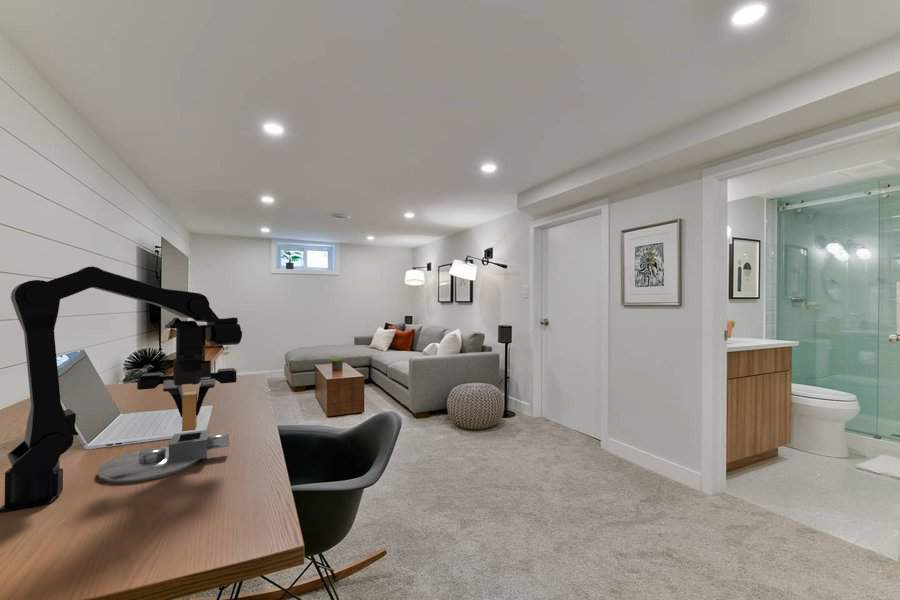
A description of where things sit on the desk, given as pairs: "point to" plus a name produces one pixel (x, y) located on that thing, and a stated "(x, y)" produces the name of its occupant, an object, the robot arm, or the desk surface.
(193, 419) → the yellow orange block
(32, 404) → the robot arm
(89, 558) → the desk surface
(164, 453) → the rosette bracket
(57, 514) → the desk surface
